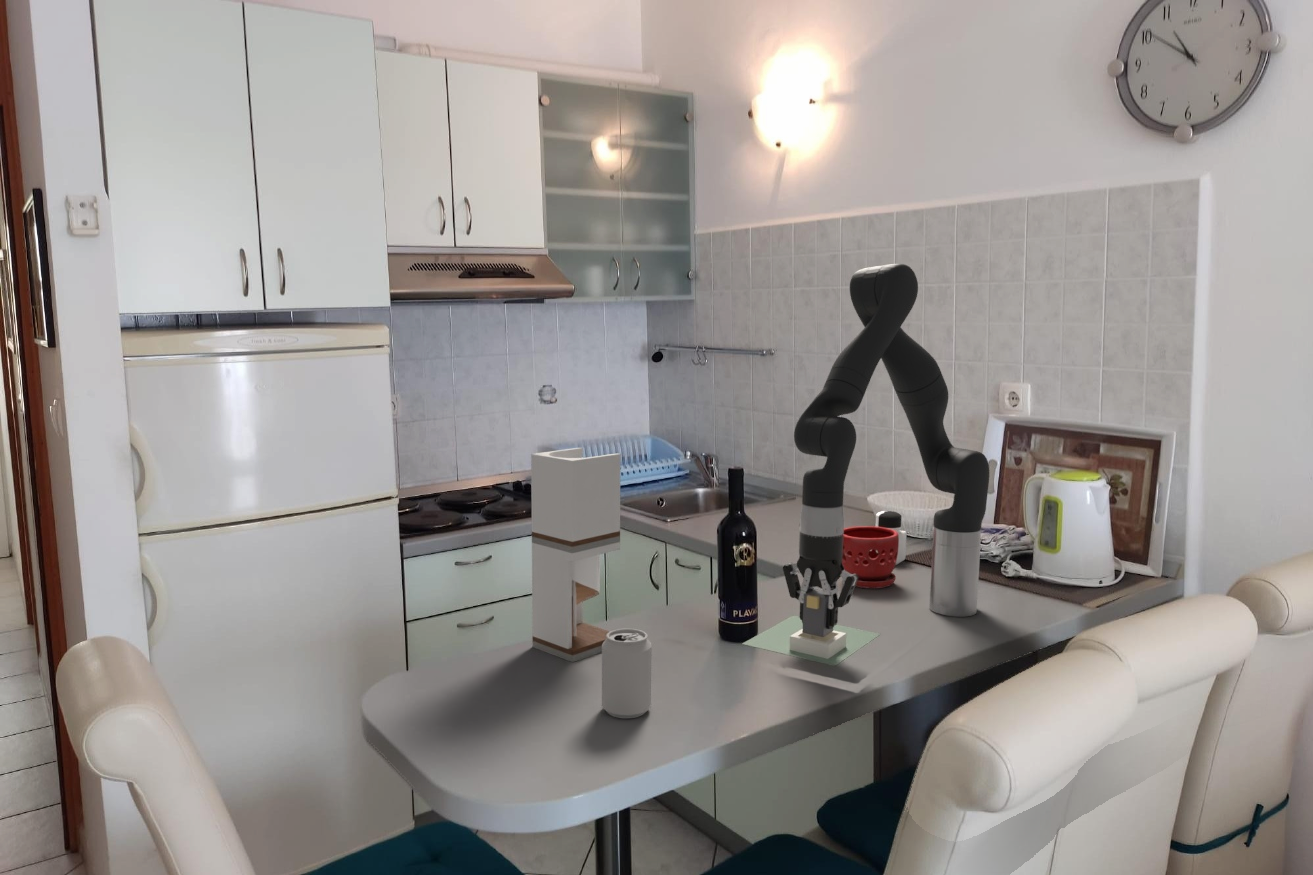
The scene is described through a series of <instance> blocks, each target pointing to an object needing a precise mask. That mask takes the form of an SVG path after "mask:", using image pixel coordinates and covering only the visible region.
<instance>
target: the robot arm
mask: <svg viewBox="0 0 1313 875" xmlns="http://www.w3.org/2000/svg"><path fill="white" fill-rule="evenodd" d="M918 283H919V282H918V278H917V275H916V274H915V271H914V270H913V269H912V268H911V267H910V266H909V265H907V264H906V263H905V264H904V263H892V264H891V263H890V264H889V263H888V264H884V265H877V266H876V265H875V266H870V267H865V268H861V269H858V270H857V271H855V272H854V273H853V275H852V276H851V278H850V282H849V295H850V299H851V302H852V303H851V304H852V305H853V306H852V307H853V308H854V310H855V312H856V315H857V317H858V319H859V320H860V321H861V323H862V325H863V327H864V328H863V329H862V330H861V331H860V332H859V333H858V335H856V337H854V338H853V339H852V341H851V342H850V343H849V344H847V345H846V347H845V348H843V349H842V351H841V353H839V355H838V356H837V358H836V359H835V361H834V363H833V365H832V366H831V368H830V372H829V374H828V376H827V378H826V381H825V383H824V385H823V387H822V389H821V391H820V392H819V393H818V394H817V395H816V396H815V397H814V398H813V400H812V401H811V403H810V404H809V406H807V408H806V409H804V411H803V413H802V414H801V416H799V419H798V420H797V422H796V425H795V427H794V433H793V440H794V441H793V442H794V444H795V447H796V448H797V450H799V452H800V453H803V454H805V455H810V456H818V457H826V461H825V464H824V466H823V467H822V468H813V469H810V470H807V471H806V472H805V473H804V475H803V476H802V477H803V479H802V495H801V496H802V498H801V499H802V500H801V501H802V502H801V509H800V510H801V511H800V516H799V518H800V519H799V524H798V527H799V537H798V538H799V539H798V540H799V541H798V543H799V544H798V554H799V558H798V560H796V562H793V561H792V562H789V563H788V562H787V563H786V564H784V565H783V566H782V571H783V574H784V578H785V582H786V586H787V589H788V593H789V596H790V598H792V599H796V600H798V602H799V617H800V620H802V623H803V602H804V594H805V593H808V592H809V591H811V590H814V589H816V587H817V588H820V590H823V594H824V596H825V597H827V607H828V608H827V614H826V628H827V629H832V628H833V627H834V626H835V625H838V622H839V620H838V619H839V618H838V617H839V615H838V614H839V608H842V607H844V606H847V605H848V604H850V600H851V599H852V598H851V597H852V596H853V593H854V590H855V587H856V583H857V581H858V578H859V577H858V575H857V574H855V573H854V574H851V573H849V572H847V571H845V570H844V567H843V564H842V556H843V531H844V529H845V514H844V493H845V492H844V491H845V490H844V489H845V481H846V478H847V477H846V476H847V474H848V470H849V466H850V462H851V461H852V457H853V454H854V451H855V447H856V443H857V432H856V428H855V425H854V424H853V422H852V421H851V420H850V419H848V418H846V417H842V416H843V415H848V414H852V413H855V412H856V411H857V410H858V409H859V407H860V405H861V403H862V402H863V398H864V396H865V394H866V391H867V389H868V386H869V384H870V382H871V380H872V376H873V375H874V372H875V370H876V368H877V366H878V365H879V362H880V361H882V362H883V366H884V368H885V370H886V371H887V374H888V376H889V379H890V381H891V384H892V386H893V390H894V392H895V394H896V396H897V399H898V401H899V404H901V407H902V409H903V411H904V413H905V417H906V418H907V420H908V423H909V426H910V428H911V431H912V434H913V435H914V438H915V441H916V444H917V447H918V451H919V453H920V458H921V461H922V464H923V467H924V470H925V474H926V476H927V478H928V481H929V483H930V484H931V485H932V487H934V489H937V490H938V491H940V492H942V493H943V492H944V493H949V494H953V495H954V496H953V502H952V505H951V506H950V507H949V508H944V509H940V510H939V509H938V510H937V511H935V513H934V515H933V528H932V531H933V532H932V548H931V549H932V550H931V552H932V553H931V569H930V571H931V572H930V588H929V589H930V590H929V610H931V611H932V612H934V613H936V614H939V615H943V616H948V617H970V616H973V615H975V614H977V612H978V611H977V610H978V609H977V607H978V594H979V592H978V591H979V578H980V577H979V576H980V575H979V574H980V573H979V572H980V561H981V560H980V558H981V556H980V555H981V538H982V537H981V536H982V535H981V534H982V524H983V520H984V518H985V514H986V512H987V511H986V510H987V501H988V495H989V494H988V493H989V484H990V465H989V461H988V458H987V457H986V456H985V454H984V453H982V452H981V451H978V450H977V451H976V450H973V449H968V448H967V449H966V448H960V447H955V446H954V445H953V444H952V443H951V441H950V439H949V437H948V434H947V432H946V429H945V425H944V418H945V416H946V411H947V408H948V402H949V389H948V386H947V383H946V381H945V379H944V375H943V374H942V371H941V368H940V367H939V364H938V363H937V361H936V359H935V357H933V356H932V355H931V354H930V352H928V351H927V349H925V348H924V347H923V346H922V345H920V344H919V343H918V342H917V341H915V340H914V339H913V338H912V337H911V336H910V335H908V333H907V332H906V331H904V329H903V328H902V325H903V324H904V322H905V320H907V317H908V316H909V314H910V313H911V311H912V309H913V307H914V305H915V303H916V300H917V298H918V292H919V284H918ZM799 573H800V575H801V577H802V578H803V579H802V582H801V583H800V579H799V576H798V574H799ZM840 578H841V579H842V581H841V582H842V585H843V586H842V589H841V592H840V593H839V594H838V592H839V587H838V581H839V580H840Z"/></svg>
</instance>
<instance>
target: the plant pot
mask: <svg viewBox="0 0 1313 875" xmlns="http://www.w3.org/2000/svg"><path fill="white" fill-rule="evenodd" d="M898 545H899V536H898V532H897V531H895V530H892V529H889V528H884V527H876V526H875V525H874V526H873V525H872V526H871V525H869V526H868V525H867V526H866V525H863V526H850V527H846V528H845V527H844V531H843V556H842V564H843V567H844V570H845V571H847V572H849V573H851V574H854V573H855V574H857V575H858V577H859V578H858V581H857V583H856V586H855V587H856V588H861V589H864V590H865V589H882V588H887V587H889V586H891V585H892V584H894V583H895V582H896V574H895V573H893V571H894V568H895V566H896V565H895V564H896V561H897V556H898ZM870 550H872V551H870ZM876 550H877V551H878V553H877V552H876Z"/></svg>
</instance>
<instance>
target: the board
mask: <svg viewBox="0 0 1313 875" xmlns="http://www.w3.org/2000/svg"><path fill="white" fill-rule="evenodd" d="M802 631H803V623H802V620H800V616H797V615H791V616H790V617H787V618H786V619H784V620H782V621H780V622H779V623H777V624H775V625H773V626H771V627H770V628H768V629H766V630H764V631H763V632H760V633H759V634H757V635H755V636H754V637H751V638H749V639H748V640H746V641H744V642H743V643H741V645H743V646H744V645H745V646H748V647H753V648H757V649H761V650H766V651H770V652H773V653H778V654H781V655H787V656H790V657H795V658H798V659H799V658H800V659H803V660H808V661H812V662H817V663H820V664H824V665H828V666H829V665H830V666H832V667H833V666H834V667H836V666H837V665H839V664H840V663H842V662H843V661H844V660H845V659H847V658H849V657H850V656H851V655H853V654H855V653H856V652H857V651H859V650H860V649H862V648H864V647H865V646H866V645H868V643H870V642H871V641H873V640H874V639H876V638H877V637H879V636H880V635H881V633H879V632H878V633H877V632H875V631H874V632H873V631H868V630H865V629H858V628H855V627H849V626H844V625H841V624H836V625H835V626H834V627H833V632H831V633H829V634H828V635H826V636H825V637H820V636H816V635H811V634H807V633H802Z"/></svg>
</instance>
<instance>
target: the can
mask: <svg viewBox="0 0 1313 875" xmlns="http://www.w3.org/2000/svg"><path fill="white" fill-rule="evenodd" d="M606 637H607V639H606V640H605V641H604V642H603V644H602V652H601V707H602V709H603V710H604V711H606V712H607V714H608V715H610V717H611V716H612V717H614V718H618V719H635V718H639V717H642V716H643V715H645V714H646V712H647V711H648V710H650V709H651V706H652V675H653V674H652V671H653V670H652V666H653V665H652V664H653V662H652V660H653V658H652V656H653V654H652V652H653V644H652V643H651V641H650V640H649V639H648V637H649V636H648V633H646V632H645V631H643V630H640V629H638V628H637V629H636V628H618V629H613V630H611V631H610V632H609V633H607V635H606Z"/></svg>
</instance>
